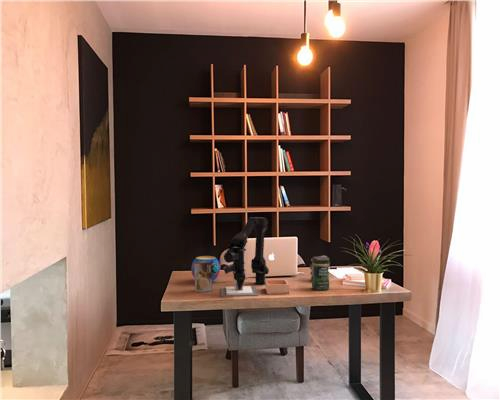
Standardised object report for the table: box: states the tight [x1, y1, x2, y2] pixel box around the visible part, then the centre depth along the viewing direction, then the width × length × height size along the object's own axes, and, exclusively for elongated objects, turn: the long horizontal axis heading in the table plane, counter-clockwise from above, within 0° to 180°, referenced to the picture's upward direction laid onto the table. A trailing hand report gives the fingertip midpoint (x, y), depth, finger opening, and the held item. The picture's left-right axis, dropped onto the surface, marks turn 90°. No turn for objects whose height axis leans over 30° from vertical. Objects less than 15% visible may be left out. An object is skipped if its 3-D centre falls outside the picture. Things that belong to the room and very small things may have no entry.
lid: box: [225, 280, 253, 295], centre depth 233 cm, size 14×14×6 cm
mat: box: [220, 286, 259, 297], centre depth 233 cm, size 17×20×1 cm
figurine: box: [309, 255, 330, 280], centre depth 259 cm, size 9×12×15 cm
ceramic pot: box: [191, 255, 221, 282], centre depth 257 cm, size 18×18×15 cm
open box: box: [264, 279, 290, 295], centre depth 235 cm, size 12×12×5 cm
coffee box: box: [194, 261, 213, 293], centre depth 237 cm, size 9×6×16 cm
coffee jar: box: [311, 255, 331, 291], centre depth 239 cm, size 10×8×19 cm
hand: (239, 287), depth 233 cm, fingers open, 9 cm apart
